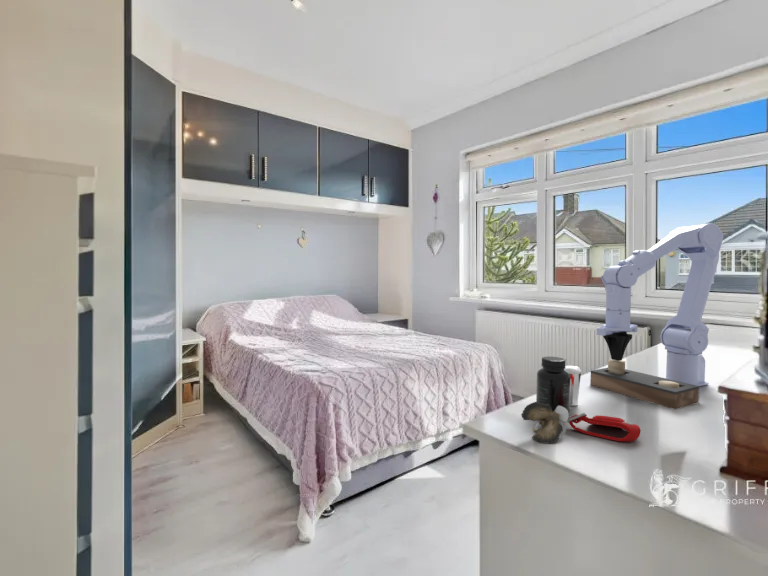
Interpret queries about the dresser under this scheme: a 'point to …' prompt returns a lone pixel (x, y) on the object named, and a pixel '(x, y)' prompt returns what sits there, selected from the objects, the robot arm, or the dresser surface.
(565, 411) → the eagle figurine
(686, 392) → the block
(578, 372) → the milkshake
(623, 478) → the dresser surface
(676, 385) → the peg
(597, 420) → the tracker holder
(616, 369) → the peg
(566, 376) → the supplement bottle
